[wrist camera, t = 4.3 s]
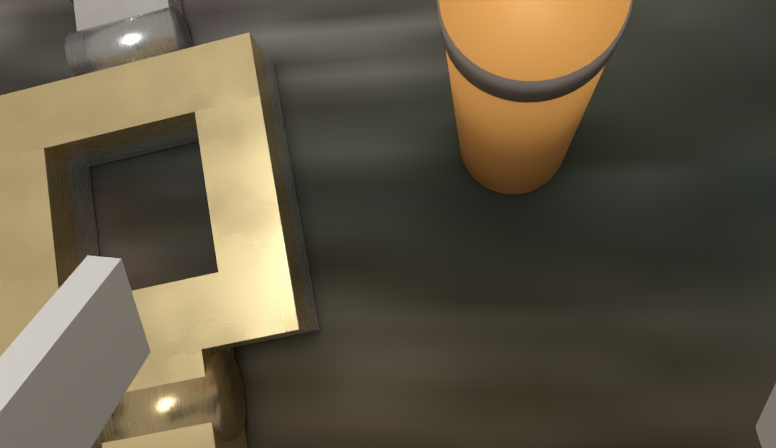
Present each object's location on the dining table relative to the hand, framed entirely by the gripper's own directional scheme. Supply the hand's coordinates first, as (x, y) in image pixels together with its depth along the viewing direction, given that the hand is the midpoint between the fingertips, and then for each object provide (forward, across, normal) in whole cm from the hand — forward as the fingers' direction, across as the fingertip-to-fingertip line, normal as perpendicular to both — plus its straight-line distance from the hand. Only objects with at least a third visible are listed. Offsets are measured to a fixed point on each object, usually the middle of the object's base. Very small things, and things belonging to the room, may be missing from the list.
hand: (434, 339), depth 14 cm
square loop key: (+11, -12, -6) cm, 17 cm away
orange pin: (+14, +1, -3) cm, 14 cm away
